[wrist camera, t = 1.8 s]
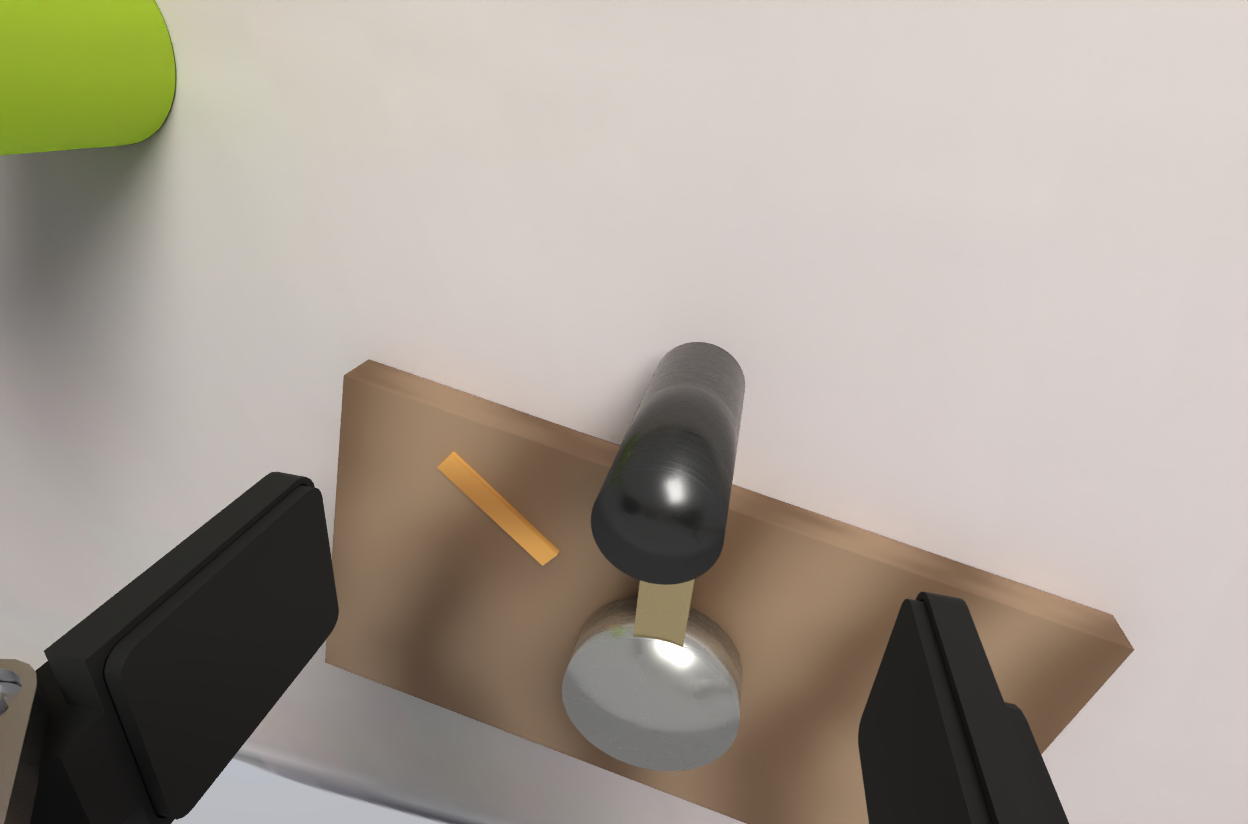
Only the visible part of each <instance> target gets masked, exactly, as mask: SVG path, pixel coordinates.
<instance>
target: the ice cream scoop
mask: <svg viewBox="0 0 1248 824" xmlns="http://www.w3.org/2000/svg"><path fill="white" fill-rule="evenodd" d="M744 393H745V380H744V375H743V372H742V369H741V367H740V365H739V364H738V362H737V361H736V360H735V359H734V358H733V356H732V355H730V354H729V353H728V352H727V351H725V350H724V349H722V348H720V347H718V346H716V345H713V344H709V343H703V342H692V343H686V344H683V345H680V346H678V347H676V348H674V349H673V350H671V351H670V352H668V353H667V354H666V355H665V356H664V357H663V359H662V360H661V361H660V363H659V365H658V367H657V369H656V371H655V373H654V376H653V378H652V380H651V382H650V384H649V386H648V388H647V391H646V393H645V395H644V397H643V399H642V401H641V403H640V406H639V408H638V410H637V412H636V414H635V416H634V419H633V421H632V423H631V425H630V427H629V429H628V431H627V434H626V436H625V438H624V440H623V442H622V444H621V446H620V449H619V451H618V453H617V455H616V457H615V459H614V462H613V464H612V466H611V468H610V470H609V472H608V474H607V477H606V479H605V481H604V483H603V485H602V487H601V489H600V492H599V494H598V496H597V498H596V500H595V502H594V505H593V508H592V512H591V529H592V534H593V537H594V540H595V542H596V544H597V546H598V548H599V550H600V551H601V553H602V554H603V555H604V556H605V558H606V559H607V560H608V561H609V562H610V563H611V564H612V565H613V566H615V567H616V568H617V569H619V570H620V571H622V572H623V573H625V574H627V575H629V576H631V577H633V578H635V579H638V580H640V584H639V592H638V597H633V598H627V599H622V600H619V601H615V602H612V603H610V604H608V605H606V606H604V607H602V608H601V609H599V610H598V611H596V612H595V613H594V614H593V615H592V616H591V617H590V618H589V619H588V620H587V622H586V623H585V625H584V626H583V628H582V630H581V633H580V635H579V638H578V641H577V643H576V646H575V649H574V651H573V654H572V656H571V659H570V662H569V664H568V667H567V670H566V672H565V675H564V678H563V683H562V698H563V703H564V706H565V709H566V712H567V714H568V716H569V718H570V720H571V721H572V723H573V724H574V726H575V727H576V728H577V730H578V731H579V732H580V733H581V734H582V735H583V736H584V737H585V738H586V739H587V740H588V741H589V742H590V743H592V744H593V745H594V746H596V747H597V748H598V749H600V750H601V751H603V752H605V753H606V754H608V755H610V756H612V757H614V758H616V759H618V760H620V761H623V762H625V763H628V764H630V765H634V766H637V767H641V768H645V769H650V770H658V771H683V770H689V769H694V768H697V767H701V766H704V765H706V764H708V763H711V762H712V761H714V760H716V759H717V758H719V757H720V756H721V755H723V754H724V753H725V752H726V751H727V750H728V749H729V747H730V746H731V745H732V743H733V741H734V740H735V738H736V735H737V732H738V727H739V718H740V705H741V691H742V678H743V669H742V662H741V658H740V655H739V652H738V650H737V648H736V646H735V644H734V643H733V641H732V639H731V638H730V637H729V636H728V634H727V633H726V632H725V631H724V630H723V629H722V628H721V627H720V626H719V625H718V624H717V623H716V622H714V621H713V620H712V619H711V618H709V617H708V616H706V615H705V614H703V613H702V612H700V611H698V610H696V609H694V608H692V607H690V606H691V600H692V594H693V588H694V582H695V578H698V577H699V576H701V575H703V574H704V573H705V572H707V571H708V570H709V569H710V568H711V567H712V566H713V565H714V564H715V562H716V561H717V559H718V558H719V556H720V554H721V552H722V548H723V545H724V538H725V531H726V524H727V516H728V509H729V502H730V495H731V487H732V480H733V473H734V465H735V458H736V451H737V444H738V436H739V429H740V422H741V414H742V407H743V400H744Z"/></svg>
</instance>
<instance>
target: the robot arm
mask: <svg viewBox="0 0 1248 824" xmlns="http://www.w3.org/2000/svg"><path fill="white" fill-rule="evenodd" d="M338 615H339V607H338V600H337V593H336V587H335V580H334V573H333V566H332V560H331V553H330V546H329V539H328V533H327V526H326V519H325V512H324V506H323V499H322V494H321V492H320V490H319V489H317V488H315V487H314V484H313V482H312V481H311V479H309V478H307V477H303V476H297V475H292V474H286V473H281V472H271V473H270V474H268V475H266V476H265V477H264V478H262V479H261V480H260V481H259V482H257V483H256V484H255V485H254V486H252V487H251V488H250V489H248V490H247V491H246V492H245V493H243V494H242V495H241V496H240V497H238V498H237V499H236V500H235V501H233V502H232V503H231V504H229V505H228V506H227V507H226V508H224V509H223V510H222V511H221V512H219V513H218V514H217V515H216V516H214V517H213V518H212V519H210V520H209V521H208V522H207V523H205V524H204V525H203V526H202V527H200V528H199V529H198V530H197V531H195V532H194V533H193V534H191V535H190V536H189V537H188V538H186V539H185V540H184V541H183V542H181V543H180V544H179V545H177V546H176V547H175V548H174V549H172V550H171V551H170V552H169V553H167V554H166V555H165V556H164V557H162V558H161V559H160V560H158V561H157V562H156V563H155V564H153V565H152V566H151V567H150V568H148V569H147V570H146V571H145V572H143V573H142V574H141V575H139V576H138V577H137V578H136V579H134V580H133V581H132V582H131V583H129V584H128V585H127V586H126V587H124V588H123V589H122V590H120V591H119V592H118V593H117V594H115V595H114V596H113V597H112V598H110V599H109V600H108V601H107V602H105V603H104V604H103V605H101V606H100V607H99V608H98V609H96V610H95V611H94V612H93V613H91V614H90V615H89V616H88V617H86V618H85V619H84V620H82V621H81V622H80V623H79V624H77V625H76V626H75V627H74V628H72V629H71V630H70V631H68V632H67V633H66V634H65V635H63V636H62V637H61V638H60V639H58V640H57V641H56V642H55V643H53V644H52V645H51V646H49V647H48V648H47V649H46V650H44V652H45V655H46V657H47V659H48V661H47V662H46V663H45V664H43V665H42V666H41V667H40V668H38V669H37V670H36V671H34V669H33V668H32V667H31V666H30V665H29V664H27V663H24V662H21V661H19V660H16V659H0V824H171V823H172V822H173V820H174V819H179V818H182V817H184V816H185V815H187V814H188V813H189V812H190V811H191V810H192V808H194V806H195V805H196V804H197V802H198V801H199V800H200V799H201V797H202V796H203V795H204V793H205V792H206V791H207V790H208V789H209V787H210V786H211V785H212V783H213V782H214V781H215V779H216V778H217V777H218V776H219V775H220V773H221V772H222V771H223V770H224V768H225V767H226V766H227V764H228V763H229V762H230V761H231V759H232V758H233V757H234V756H235V754H236V753H237V752H238V750H239V749H240V748H241V747H242V745H243V744H244V743H245V742H246V740H247V739H248V738H249V737H250V735H251V734H252V733H253V731H254V730H255V729H256V728H257V726H258V725H259V724H260V723H261V721H262V720H263V719H264V718H265V716H266V715H267V714H268V712H269V711H270V710H271V709H272V707H273V706H274V705H275V704H276V702H277V701H278V700H279V698H280V697H281V696H282V695H283V693H284V692H285V691H286V690H287V688H288V687H289V686H290V685H291V683H292V682H293V681H294V679H295V678H296V677H297V676H298V674H299V673H300V672H301V671H302V669H303V668H304V667H305V666H306V664H307V663H308V662H309V660H310V659H311V658H312V657H313V655H314V654H315V653H316V652H317V650H318V649H319V648H320V646H321V645H322V644H323V643H324V641H325V640H326V639H327V638H328V636H329V635H330V634H331V632H332V631H333V629H334V627H335V625H336V623H337V620H338ZM858 747H859V754H860V762H861V769H862V776H863V784H864V791H865V798H866V805H867V813H868V820H869V824H1069V822H1068V820H1067V817H1066V815H1065V812H1064V810H1063V807H1062V805H1061V802H1060V800H1059V798H1058V795H1057V793H1056V790H1055V788H1054V785H1053V783H1052V780H1051V778H1050V775H1049V773H1048V771H1047V768H1046V766H1045V763H1044V761H1043V758H1042V756H1041V753H1040V751H1039V748H1038V746H1037V744H1036V741H1035V739H1034V736H1033V734H1032V731H1031V729H1030V726H1029V724H1028V721H1027V719H1026V718H1025V716H1024V714H1023V712H1022V710H1021V709H1020V708H1018V707H1017V706H1016V705H1015V704H1012V703H1007V702H1004V700H1003V698H1002V695H1001V692H1000V690H999V687H998V684H997V682H996V679H995V677H994V674H993V671H992V669H991V666H990V664H989V661H988V658H987V656H986V653H985V650H984V648H983V645H982V643H981V640H980V637H979V635H978V632H977V630H976V627H975V624H974V622H973V619H972V616H971V614H970V611H969V609H968V606H967V604H966V602H965V601H964V600H963V599H961V598H956V597H951V596H945V595H940V594H934V593H929V592H924V591H923V592H920V593H919V594H918V595H917V597H916V599H915V600H912V599H905V600H904V601H903V603H902V605H901V608H900V610H899V613H898V616H897V619H896V622H895V624H894V627H893V630H892V633H891V636H890V638H889V641H888V644H887V647H886V650H885V652H884V655H883V658H882V661H881V664H880V666H879V669H878V672H877V675H876V678H875V680H874V683H873V686H872V689H871V692H870V694H869V697H868V700H867V703H866V706H865V708H864V711H863V714H862V717H861V720H860V724H859V731H858Z"/></svg>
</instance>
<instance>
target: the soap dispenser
mask: <svg viewBox="0 0 1248 824" xmlns="http://www.w3.org/2000/svg"><path fill="white" fill-rule="evenodd" d="M174 91H175V61H174V54H173V49H172V44H171V40H170V37H169V33H168V30H167V27H166V24H165V22H164V19H163V17H162V15H161V12H160V10H159V8H158V6H157V4H156V2H155V0H0V155H11V154H23V153H35V152H48V151H60V150H72V149H84V148H96V147H108V146H121V145H130V144H134V143H138V142H141V141H143V140H145V139H147V138H148V137H150V136H151V135H152V134H154V133H155V132H156V131H157V130H158V129H159V128H160V126H161V125H162V124H163V122H164V121H165V119H166V117H167V115H168V113H169V111H170V108H171V105H172V101H173V97H174Z"/></svg>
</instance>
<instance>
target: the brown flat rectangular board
mask: <svg viewBox="0 0 1248 824" xmlns="http://www.w3.org/2000/svg"><path fill="white" fill-rule="evenodd" d="M619 449H620V446H619V445H616V444H613V443H610V442H607V441H604V440H602V439H599V438H596V437H593V436H590V435H587V434H584V433H581V432H578V431H575V430H572V429H570V428H567V427H564V426H561V425H558V424H555V423H552V422H549V421H546V420H543V419H540V418H538V417H535V416H532V415H529V414H526V413H523V412H520V411H517V410H514V409H511V408H508V407H506V406H503V405H500V404H497V403H494V402H491V401H488V400H485V399H482V398H479V397H476V396H474V395H471V394H468V393H465V392H462V391H459V390H456V389H453V388H450V387H447V386H445V385H442V384H439V383H436V382H433V381H430V380H427V379H424V378H421V377H418V376H415V375H413V374H410V373H407V372H404V371H401V370H398V369H395V368H392V367H389V366H386V365H383V364H381V363H378V362H375V361H372V360H367V361H366V362H364V363H363V364H361V365H359V366H358V367H356V368H355V369H353V370H352V371H350V372H349V373H347V374H345V375H344V381H343V397H342V412H341V427H340V443H339V458H338V474H337V489H336V504H335V520H334V535H333V551H332V566H333V573H334V580H335V587H336V593H337V600H338V607H339V615H338V620H337V623H336V625H335V627H334V629H333V631H332V632H331V634H330V635H329V636H328V638H327V643H326V658H325V662H326V663H329V664H331V665H334V666H336V667H339V668H342V669H344V670H347V671H349V672H352V673H355V674H357V675H360V676H363V677H365V678H368V679H370V680H373V681H376V682H378V683H381V684H383V685H386V686H389V687H391V688H394V689H397V690H399V691H402V692H404V693H407V694H410V695H412V696H415V697H417V698H420V699H423V700H425V701H428V702H430V703H433V704H436V705H438V706H441V707H444V708H446V709H449V710H451V711H454V712H457V713H459V714H462V715H464V716H467V717H470V718H472V719H475V720H478V721H480V722H483V723H485V724H488V725H491V726H493V727H496V728H498V729H501V730H504V731H506V732H509V733H512V734H514V735H517V736H519V737H522V738H525V739H527V740H530V741H532V742H535V743H538V744H540V745H543V746H546V747H548V748H551V749H553V750H556V751H559V752H561V753H564V754H566V755H569V756H572V757H574V758H577V759H580V760H582V761H585V762H587V763H590V764H593V765H595V766H598V767H600V768H603V769H606V770H608V771H611V772H614V773H616V774H619V775H621V776H624V777H627V778H629V779H632V780H634V781H637V782H640V783H642V784H645V785H648V786H650V787H653V788H655V789H658V790H661V791H663V792H666V793H668V794H671V795H674V796H676V797H679V798H682V799H684V800H687V801H689V802H692V803H695V804H697V805H700V806H702V807H705V808H708V809H710V810H713V811H716V812H718V813H721V814H723V815H726V816H729V817H731V818H734V819H736V820H739V821H742V822H744V823H747V824H869V820H868V813H867V805H866V798H865V791H864V784H863V776H862V769H861V762H860V754H859V747H858V731H859V724H860V720H861V717H862V714H863V711H864V708H865V706H866V703H867V700H868V697H869V694H870V692H871V689H872V686H873V683H874V680H875V678H876V675H877V672H878V669H879V666H880V664H881V661H882V658H883V655H884V652H885V650H886V647H887V644H888V641H889V638H890V636H891V633H892V630H893V627H894V624H895V622H896V619H897V616H898V613H899V610H900V608H901V605H902V603H903V601H904V600H905V599H912V600H915V599H916V597H917V595H918V594H919V593H920V592H923V591H924V592H929V593H934V594H940V595H945V596H951V597H956V598H961V599H963V600H964V601H965V602H966V604H967V606H968V609H969V611H970V614H971V616H972V619H973V622H974V624H975V627H976V630H977V632H978V635H979V637H980V640H981V643H982V645H983V648H984V650H985V653H986V656H987V658H988V661H989V664H990V666H991V669H992V671H993V674H994V677H995V679H996V682H997V684H998V687H999V690H1000V692H1001V695H1002V698H1003V700H1004V702H1007V703H1012V704H1015V705H1016V706H1017V707H1018V708H1020V709H1021V710H1022V712H1023V714H1024V716H1025V718H1026V719H1027V721H1028V724H1029V726H1030V729H1031V731H1032V734H1033V736H1034V739H1035V741H1036V744H1037V746H1038V748H1039V751H1040V753H1041V754H1042V753H1043V752H1044V751H1045V750H1046V749H1047V747H1048V746H1049V745H1050V744H1051V743H1052V742H1053V741H1054V739H1055V738H1056V737H1057V736H1058V735H1059V734H1060V733H1061V732H1062V730H1063V729H1064V728H1065V727H1066V726H1067V725H1068V724H1069V723H1070V721H1071V720H1072V719H1073V718H1074V717H1075V716H1076V715H1077V714H1078V712H1079V711H1080V710H1081V709H1082V708H1083V707H1084V706H1085V705H1086V703H1087V702H1088V701H1089V700H1090V699H1091V698H1092V697H1093V696H1094V694H1095V693H1096V692H1097V691H1098V690H1099V689H1100V688H1101V687H1102V685H1103V684H1104V683H1105V682H1106V681H1107V680H1108V679H1109V678H1110V676H1111V675H1112V674H1113V673H1114V672H1115V671H1116V670H1117V668H1118V667H1119V666H1120V665H1121V664H1122V663H1123V662H1124V661H1125V659H1126V658H1127V657H1128V656H1129V655H1130V654H1131V653H1132V652H1133V650H1134V649H1133V647H1132V645H1131V644H1130V642H1129V641H1128V639H1127V637H1126V636H1125V634H1124V632H1123V631H1122V629H1121V628H1120V626H1119V624H1118V623H1117V621H1116V620H1115V618H1114V616H1113V615H1111V614H1108V613H1105V612H1102V611H1099V610H1096V609H1093V608H1090V607H1087V606H1084V605H1081V604H1079V603H1076V602H1073V601H1070V600H1067V599H1064V598H1061V597H1058V596H1055V595H1052V594H1049V593H1047V592H1044V591H1041V590H1038V589H1035V588H1032V587H1029V586H1026V585H1023V584H1020V583H1017V582H1015V581H1012V580H1009V579H1006V578H1003V577H1000V576H997V575H994V574H991V573H988V572H985V571H983V570H980V569H977V568H974V567H971V566H968V565H965V564H962V563H959V562H956V561H953V560H951V559H948V558H945V557H942V556H939V555H936V554H933V553H930V552H927V551H924V550H921V549H919V548H916V547H913V546H910V545H907V544H904V543H901V542H898V541H895V540H892V539H889V538H887V537H884V536H881V535H878V534H875V533H872V532H869V531H866V530H863V529H860V528H858V527H855V526H852V525H849V524H846V523H843V522H840V521H837V520H834V519H831V518H828V517H826V516H823V515H820V514H817V513H814V512H811V511H808V510H805V509H802V508H799V507H796V506H794V505H791V504H788V503H785V502H782V501H779V500H776V499H773V498H770V497H767V496H764V495H762V494H759V493H756V492H753V491H750V490H747V489H744V488H741V487H738V486H735V485H732V487H731V495H730V502H729V509H728V516H727V524H726V531H725V538H724V545H723V548H722V552H721V554H720V556H719V558H718V559H717V561H716V562H715V564H714V565H713V566H712V567H711V568H710V569H709V570H708V571H707V572H705V573H704V574H703V575H701V576H699V577H698V578H695V582H694V588H693V594H692V600H691V606H690V607H692V608H694V609H696V610H698V611H700V612H702V613H703V614H705V615H706V616H708V617H709V618H711V619H712V620H713V621H714V622H716V623H717V624H718V625H719V626H720V627H721V628H722V629H723V630H724V631H725V632H726V633H727V634H728V636H729V637H730V638H731V639H732V641H733V643H734V644H735V646H736V648H737V650H738V652H739V655H740V658H741V662H742V669H743V678H742V691H741V705H740V718H739V727H738V732H737V735H736V738H735V740H734V741H733V743H732V745H731V746H730V747H729V749H728V750H727V751H726V752H725V753H724V754H723V755H721V756H720V757H719V758H717V759H716V760H714V761H712V762H711V763H708V764H706V765H704V766H701V767H697V768H694V769H689V770H683V771H658V770H650V769H645V768H641V767H637V766H634V765H630V764H628V763H625V762H623V761H620V760H618V759H616V758H614V757H612V756H610V755H608V754H606V753H605V752H603V751H601V750H600V749H598V748H597V747H596V746H594V745H593V744H592V743H590V742H589V741H588V740H587V739H586V738H585V737H584V736H583V735H582V734H581V733H580V732H579V731H578V730H577V728H576V727H575V726H574V724H573V723H572V721H571V720H570V718H569V716H568V714H567V712H566V709H565V706H564V703H563V698H562V683H563V678H564V675H565V672H566V670H567V667H568V664H569V662H570V659H571V656H572V654H573V651H574V649H575V646H576V643H577V641H578V638H579V635H580V633H581V630H582V628H583V626H584V625H585V623H586V622H587V620H588V619H589V618H590V617H591V616H592V615H593V614H594V613H595V612H596V611H598V610H599V609H601V608H602V607H604V606H606V605H608V604H610V603H612V602H615V601H619V600H622V599H627V598H633V597H638V592H639V584H640V580H638V579H635V578H633V577H631V576H629V575H627V574H625V573H623V572H622V571H620V570H619V569H617V568H616V567H615V566H613V565H612V564H611V563H610V562H609V561H608V560H607V559H606V558H605V556H604V555H603V554H602V553H601V551H600V550H599V548H598V546H597V544H596V542H595V540H594V537H593V534H592V529H591V512H592V508H593V505H594V502H595V500H596V498H597V496H598V494H599V492H600V489H601V487H602V485H603V483H604V481H605V479H606V477H607V474H608V472H609V470H610V468H611V466H612V464H613V462H614V459H615V457H616V455H617V453H618V451H619Z"/></svg>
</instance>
